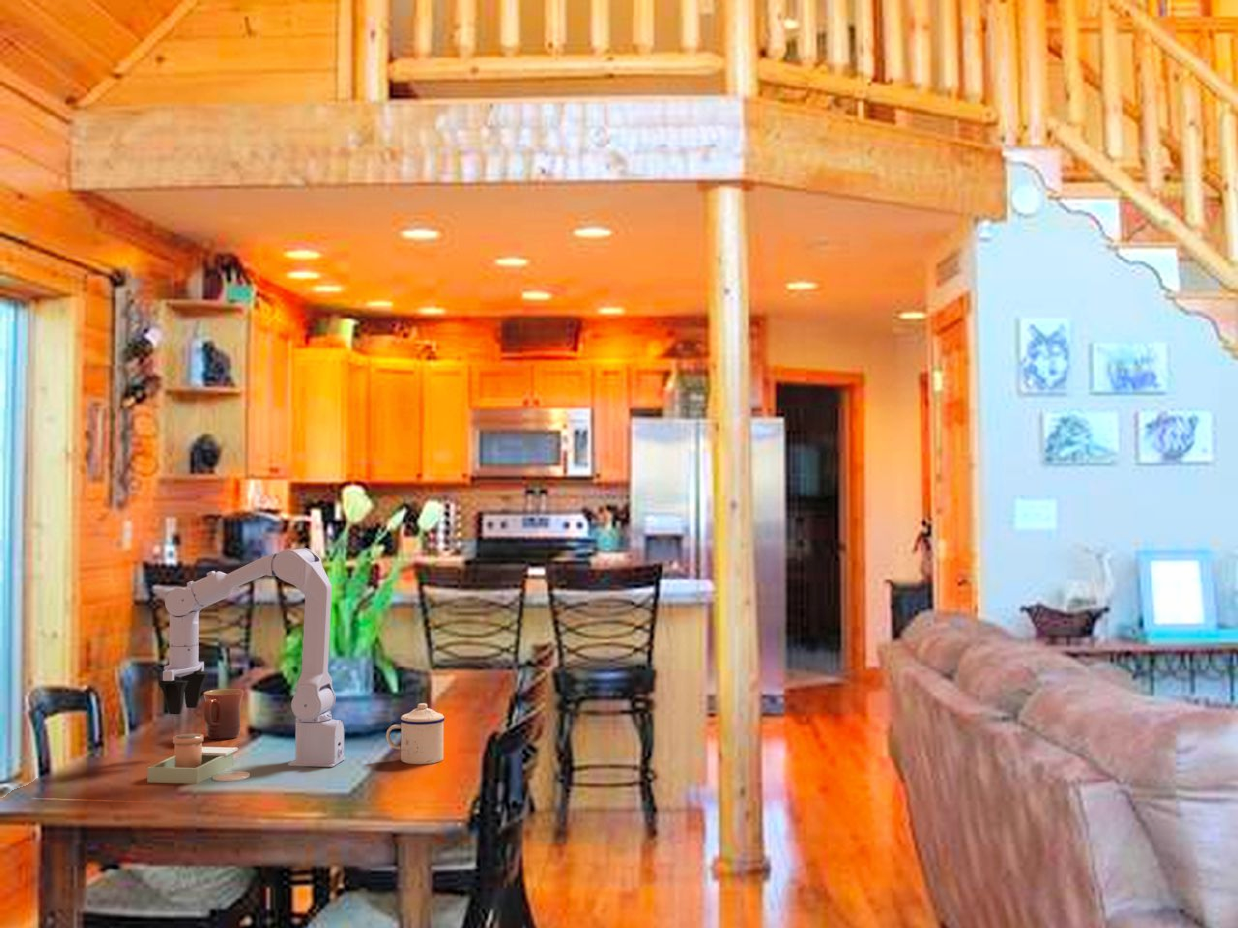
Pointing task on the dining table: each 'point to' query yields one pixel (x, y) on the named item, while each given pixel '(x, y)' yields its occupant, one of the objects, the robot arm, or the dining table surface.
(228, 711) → the mug
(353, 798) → the dining table surface
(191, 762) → the pot
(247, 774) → the saucer
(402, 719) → the teacup with lid
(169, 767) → the box with sliding lid
